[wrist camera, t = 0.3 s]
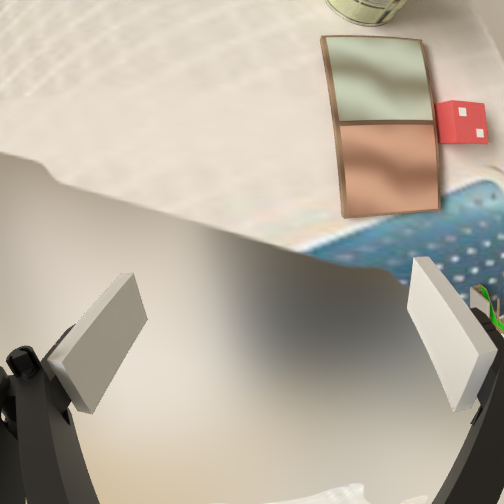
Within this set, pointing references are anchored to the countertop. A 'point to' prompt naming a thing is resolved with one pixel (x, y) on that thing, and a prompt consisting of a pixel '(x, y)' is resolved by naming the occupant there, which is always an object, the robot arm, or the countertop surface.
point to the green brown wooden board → (382, 125)
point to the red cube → (461, 122)
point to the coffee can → (366, 10)
